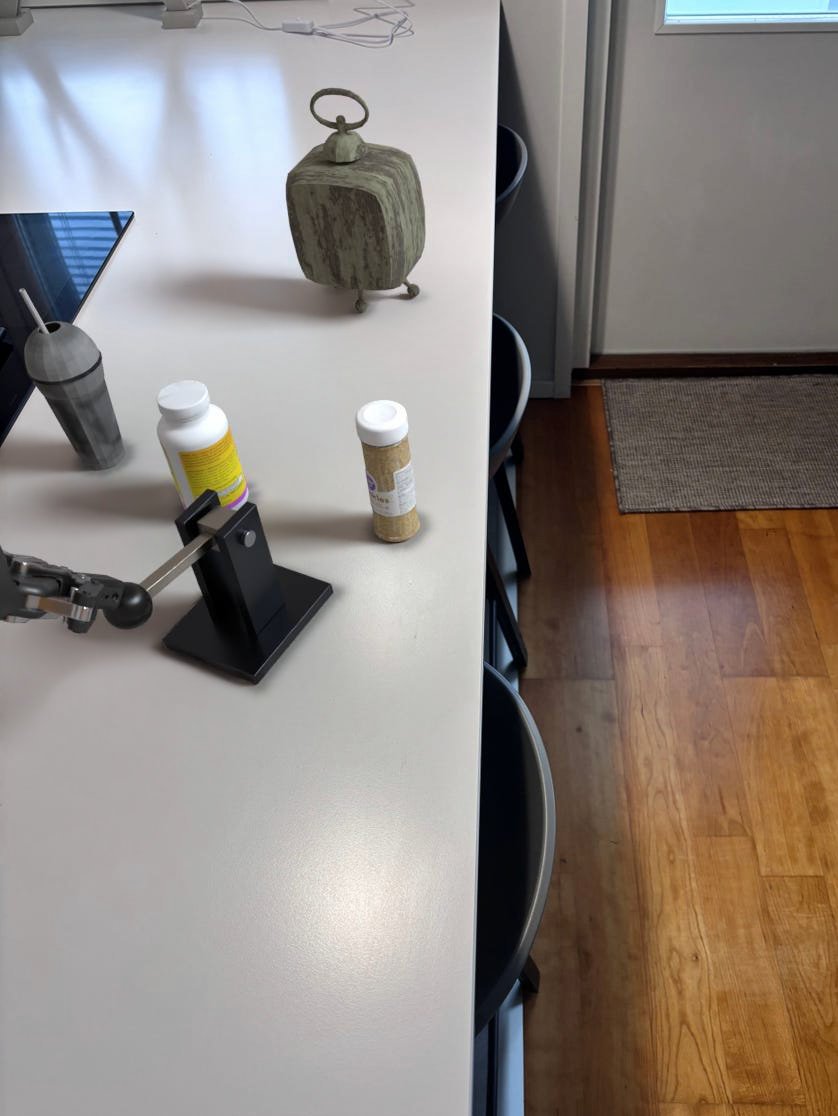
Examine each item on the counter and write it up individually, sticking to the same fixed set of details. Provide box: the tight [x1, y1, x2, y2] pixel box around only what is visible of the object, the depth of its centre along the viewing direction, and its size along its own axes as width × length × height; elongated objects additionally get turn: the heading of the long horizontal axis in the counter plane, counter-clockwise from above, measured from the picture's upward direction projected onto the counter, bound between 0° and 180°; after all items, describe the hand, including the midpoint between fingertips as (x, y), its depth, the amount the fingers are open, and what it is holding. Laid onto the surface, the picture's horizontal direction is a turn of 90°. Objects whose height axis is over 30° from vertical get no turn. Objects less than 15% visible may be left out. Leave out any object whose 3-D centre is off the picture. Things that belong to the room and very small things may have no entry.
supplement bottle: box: [155, 379, 249, 511], centre depth 95 cm, size 7×7×13 cm
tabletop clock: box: [285, 87, 427, 313], centre depth 115 cm, size 14×9×25 cm, turn 72°
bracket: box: [161, 489, 334, 685], centre depth 84 cm, size 12×10×13 cm
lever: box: [101, 505, 237, 631], centre depth 77 cm, size 14×4×4 cm, turn 153°
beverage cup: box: [18, 288, 126, 471], centre depth 98 cm, size 7×7×20 cm
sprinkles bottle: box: [354, 399, 421, 543], centre depth 91 cm, size 5×5×13 cm
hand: (113, 592), depth 71 cm, fingers closed
